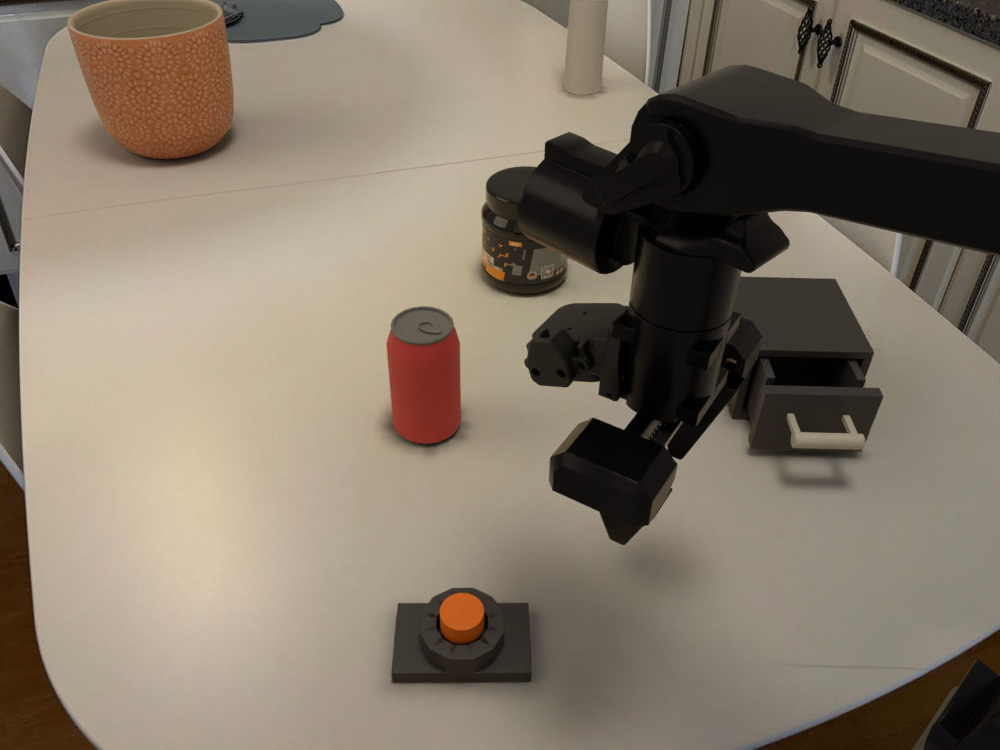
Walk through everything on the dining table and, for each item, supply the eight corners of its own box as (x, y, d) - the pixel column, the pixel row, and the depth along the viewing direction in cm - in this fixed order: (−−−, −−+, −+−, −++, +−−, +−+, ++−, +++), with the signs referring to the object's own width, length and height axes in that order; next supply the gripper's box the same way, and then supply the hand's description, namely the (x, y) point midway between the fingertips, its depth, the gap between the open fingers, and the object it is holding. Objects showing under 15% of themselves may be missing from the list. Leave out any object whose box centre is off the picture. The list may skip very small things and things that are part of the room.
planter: (120, 185, 121) (81, 48, 109) (92, 132, 134) (54, 5, 122) (263, 155, 129) (241, 24, 117) (223, 108, 143) (200, -13, 131)
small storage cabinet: (849, 421, 84) (874, 352, 79) (731, 418, 84) (748, 349, 79) (814, 344, 94) (835, 278, 88) (709, 342, 94) (723, 275, 89)
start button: (484, 606, 64) (484, 592, 62) (484, 644, 61) (484, 630, 60) (441, 607, 63) (440, 592, 62) (439, 644, 61) (438, 630, 60)
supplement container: (471, 257, 107) (471, 168, 99) (551, 246, 109) (556, 159, 102) (494, 303, 99) (495, 211, 92) (579, 291, 101) (587, 199, 94)
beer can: (434, 457, 79) (429, 355, 72) (379, 430, 82) (369, 328, 74) (474, 418, 84) (474, 317, 76) (420, 393, 86) (415, 294, 79)
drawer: (875, 482, 76) (899, 426, 72) (759, 479, 77) (776, 423, 72) (827, 374, 88) (845, 320, 84) (727, 371, 88) (739, 318, 84)
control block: (527, 611, 66) (529, 587, 64) (531, 682, 62) (532, 658, 60) (398, 611, 66) (396, 587, 64) (392, 683, 61) (389, 659, 59)
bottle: (605, 84, 154) (621, -89, 136) (595, 97, 149) (610, -81, 131) (570, 79, 156) (581, -93, 138) (559, 91, 151) (569, -85, 133)
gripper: (623, 201, 57) (603, 382, 67) (468, 339, 45) (471, 536, 55) (786, 247, 53) (740, 434, 62) (663, 415, 40) (629, 615, 50)
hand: (648, 496), depth 57 cm, fingers open, 9 cm apart
